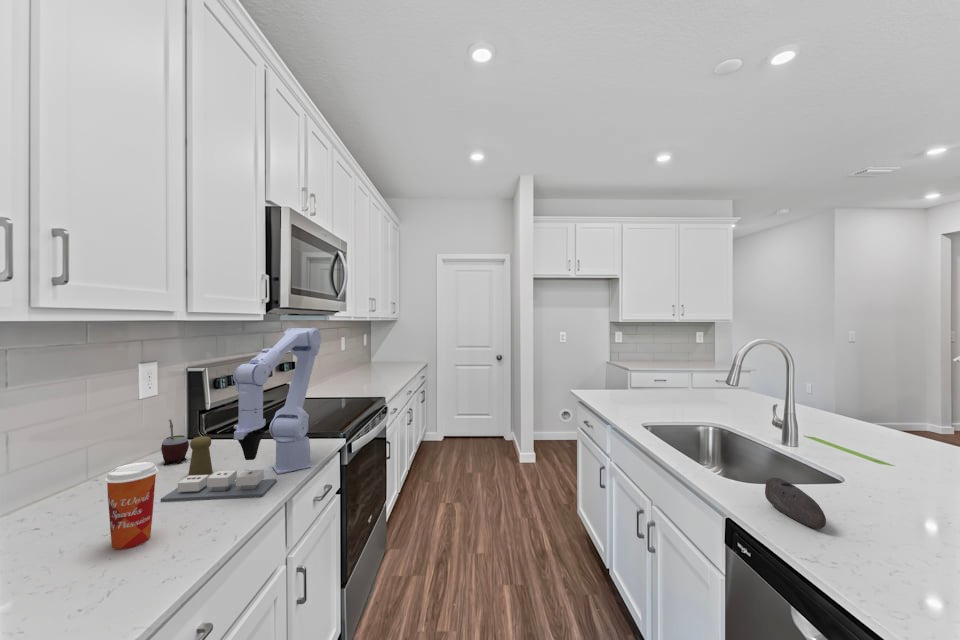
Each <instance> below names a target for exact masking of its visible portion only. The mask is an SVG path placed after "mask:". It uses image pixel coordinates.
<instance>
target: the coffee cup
mask: <svg viewBox="0 0 960 640" xmlns="http://www.w3.org/2000/svg"><path fill="white" fill-rule="evenodd" d="M159 471H160V470H159V469H158V468H157V466H156V465H155V463H153V462H151V461H149V462H147V461H145V462H144V461H143V462H135V463H134V462H133V463H129V464H125V465H120V466H117V467H115V468H113V469H112V470H111V471H109V472H108V473H107V476H106V478H105V479H104V482H105V483H107V484H106V485H107V488H106V489H107V501H108V502H107V504H108V513H109V514H108V515H109V516H108V517H109V529H110V531H109V532H110V539H111V540H110V541H111V543H110V544H111V547H112V549H113V550H116V551H117V550H121V551H122V550H129V549H131V548H135V547H138V546H141V545H143V544H144V543H146V542H147V541H149V540H150V538H151V533H152V525H153V513H154V503H155V502H154V501H155V487H156V475H157V474H158V473H159Z"/></svg>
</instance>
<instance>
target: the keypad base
mask: <svg viewBox="0 0 960 640" xmlns="http://www.w3.org/2000/svg"><path fill="white" fill-rule="evenodd" d="M277 482H278V478H270V479H267V478H266V479H264V478H263V479H262V480H261V481H260V482H259V483H258V484H257V485H245V486H236V480H235V481H234V482H232V483H231V484H230V485H229V486H224V487H207V485H206V486H205V487H203V488H202V489H201V490H199V491H186V492H178V487H176V488H175V489H173V490H172V491H170V492H169V493H167V494H166V495H164V496H163V497H161V498H160V503H165V502H166V503H167V502H186V501H187V502H188V501H209V500H210V501H211V500H228V499H246V498H247V499H248V498H251V499H252V498H262V497H264V496H265V495H266V494H267V493H268V492H269V491H270V490H271V489H272V488H273V487H274V486H275V484H276V483H277Z"/></svg>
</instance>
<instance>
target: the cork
mask: <svg viewBox="0 0 960 640" xmlns="http://www.w3.org/2000/svg"><path fill="white" fill-rule="evenodd" d="M211 445H212V438H211V437H210V436H206V435H204V436H201V435H200V436H196V437H194V438H193V439H191V440H190V443H189V447H190V449H191V450H192V451H191V454H190V455H191V457H190V462H189V468H188V469H189V470H188V475H187V477H188V476H192V475H209V476H211V475H213V474H214V473H213V472H214V471H213V465H212V457H211V452H210V446H211Z"/></svg>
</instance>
